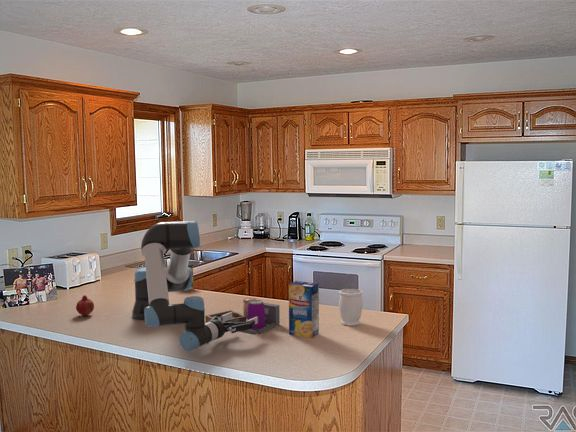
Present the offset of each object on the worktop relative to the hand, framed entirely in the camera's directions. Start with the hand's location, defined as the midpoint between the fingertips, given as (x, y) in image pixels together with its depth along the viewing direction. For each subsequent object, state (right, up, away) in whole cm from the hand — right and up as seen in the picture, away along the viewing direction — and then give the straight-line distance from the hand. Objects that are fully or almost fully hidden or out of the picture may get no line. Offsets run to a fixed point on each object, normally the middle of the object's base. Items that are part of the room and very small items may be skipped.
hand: (244, 317), depth 231 cm
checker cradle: (+5, -6, +9) cm, 13 cm away
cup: (+1, -4, +27) cm, 27 cm away
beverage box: (+26, -7, -1) cm, 27 cm away
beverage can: (+5, -7, +8) cm, 12 cm away
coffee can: (-42, +1, +86) cm, 95 cm away
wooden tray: (-10, -6, +17) cm, 21 cm away
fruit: (-80, -5, +30) cm, 85 cm away
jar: (+47, -6, +14) cm, 50 cm away
